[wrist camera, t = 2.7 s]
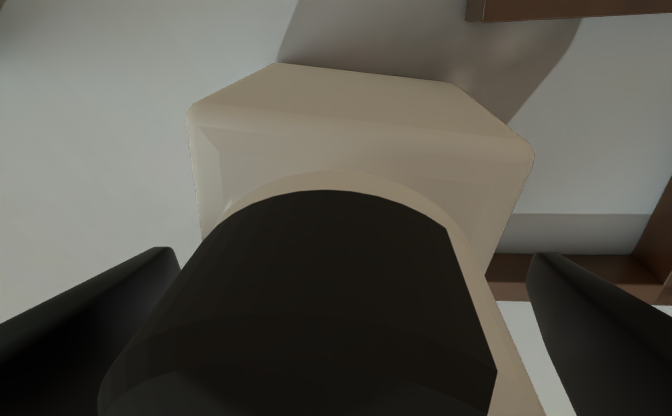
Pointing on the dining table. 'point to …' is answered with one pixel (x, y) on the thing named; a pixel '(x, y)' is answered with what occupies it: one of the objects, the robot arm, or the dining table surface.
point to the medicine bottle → (336, 257)
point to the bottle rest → (668, 217)
